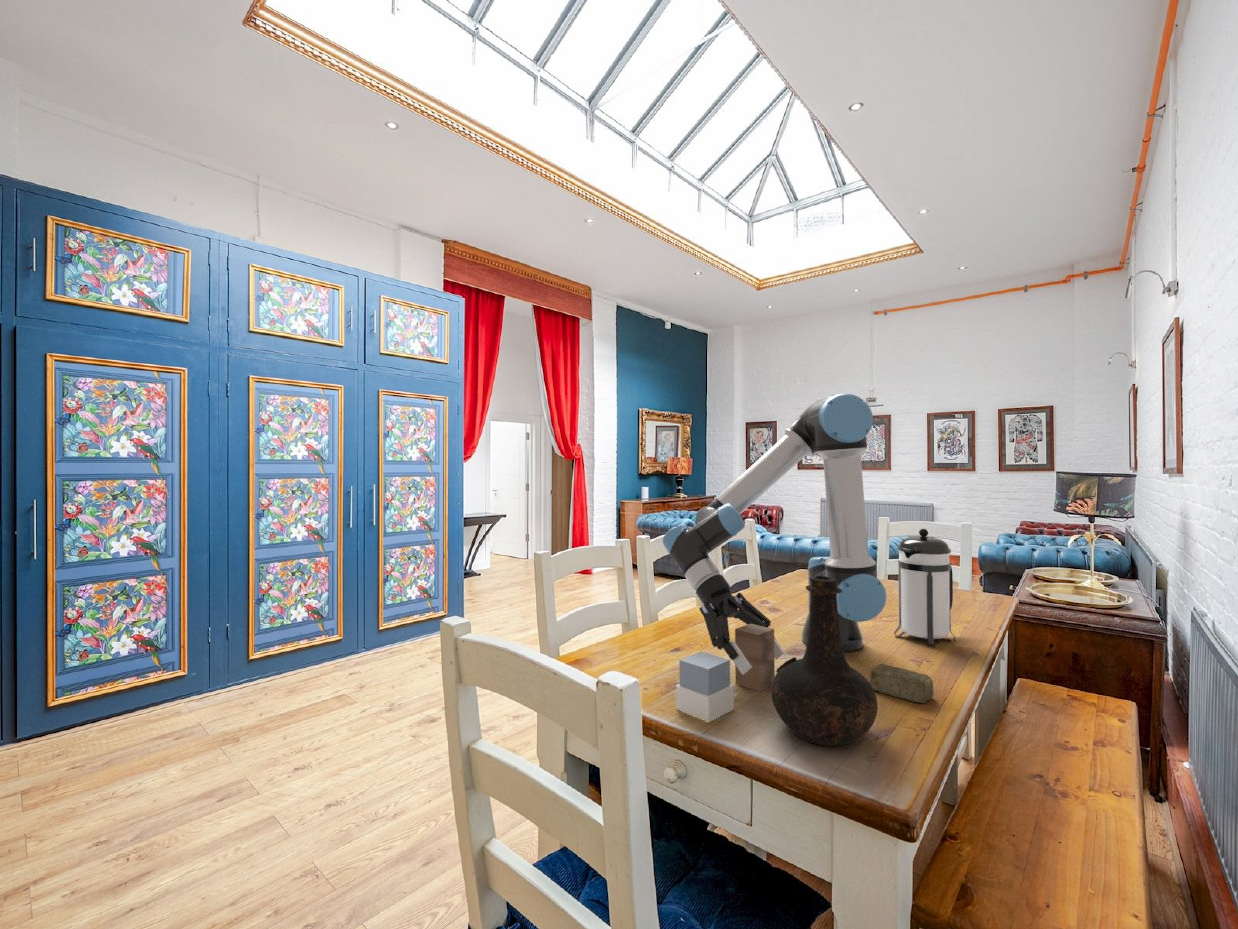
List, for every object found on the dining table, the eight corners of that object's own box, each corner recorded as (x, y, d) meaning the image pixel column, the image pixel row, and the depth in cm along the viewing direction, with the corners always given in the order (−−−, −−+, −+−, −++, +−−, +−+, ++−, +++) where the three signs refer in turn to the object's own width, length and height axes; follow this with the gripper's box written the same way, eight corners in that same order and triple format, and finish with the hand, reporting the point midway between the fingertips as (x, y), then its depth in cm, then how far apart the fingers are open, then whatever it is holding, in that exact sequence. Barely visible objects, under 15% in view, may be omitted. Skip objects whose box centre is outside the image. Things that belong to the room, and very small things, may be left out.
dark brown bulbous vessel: (802, 703, 113) (801, 564, 113) (894, 734, 100) (893, 576, 100) (751, 733, 101) (750, 576, 101) (849, 772, 88) (848, 593, 88)
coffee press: (966, 650, 144) (965, 533, 144) (897, 644, 149) (896, 530, 149) (952, 631, 160) (951, 525, 160) (890, 626, 166) (889, 524, 166)
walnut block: (751, 676, 128) (750, 623, 128) (774, 683, 123) (774, 629, 123) (735, 683, 124) (735, 629, 124) (759, 691, 119) (758, 634, 119)
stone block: (925, 707, 111) (924, 682, 111) (866, 691, 120) (866, 667, 120) (935, 698, 115) (934, 674, 115) (877, 683, 124) (877, 660, 124)
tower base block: (701, 699, 116) (701, 674, 116) (733, 711, 110) (733, 685, 110) (675, 710, 111) (675, 685, 111) (708, 724, 105) (708, 697, 105)
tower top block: (701, 676, 116) (701, 651, 116) (730, 685, 111) (729, 660, 111) (679, 685, 111) (679, 660, 111) (708, 695, 106) (708, 669, 106)
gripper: (729, 584, 143) (783, 659, 132) (664, 600, 126) (720, 688, 115) (747, 566, 139) (804, 641, 128) (682, 580, 122) (741, 668, 111)
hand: (764, 663), depth 122 cm, fingers open, 12 cm apart
